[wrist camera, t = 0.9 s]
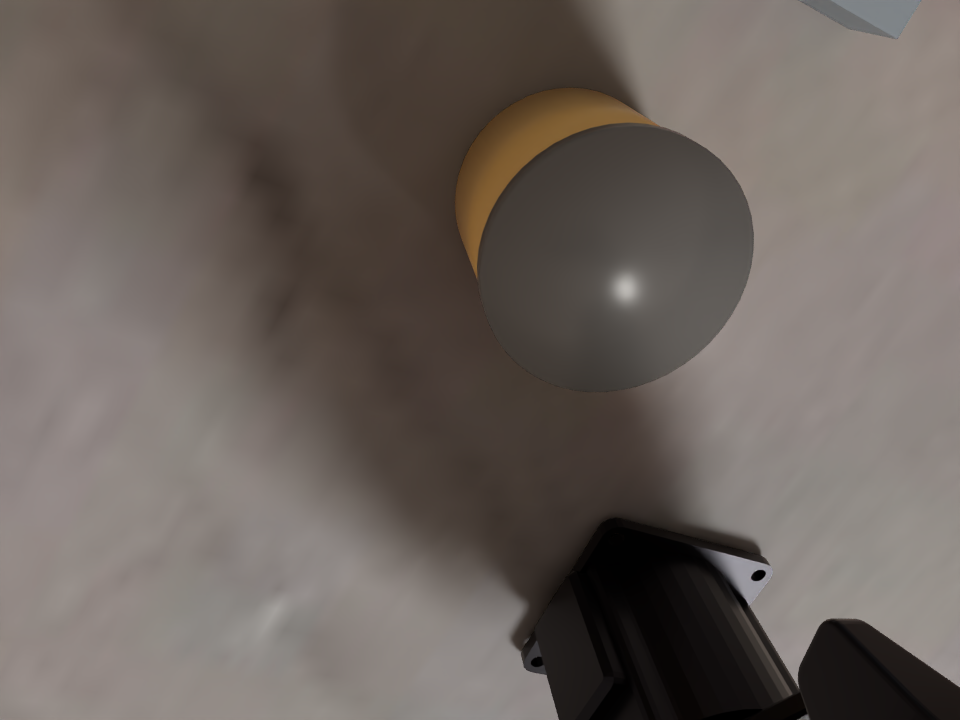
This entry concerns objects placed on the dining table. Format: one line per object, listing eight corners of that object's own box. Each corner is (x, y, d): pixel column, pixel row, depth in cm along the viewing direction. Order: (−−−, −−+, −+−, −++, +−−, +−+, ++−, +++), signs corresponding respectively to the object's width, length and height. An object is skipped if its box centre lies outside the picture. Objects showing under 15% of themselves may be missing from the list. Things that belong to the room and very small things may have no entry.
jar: (708, 136, 19) (806, 194, 15) (603, 326, 21) (665, 420, 17) (508, 42, 17) (559, 79, 13) (416, 259, 19) (436, 347, 15)
